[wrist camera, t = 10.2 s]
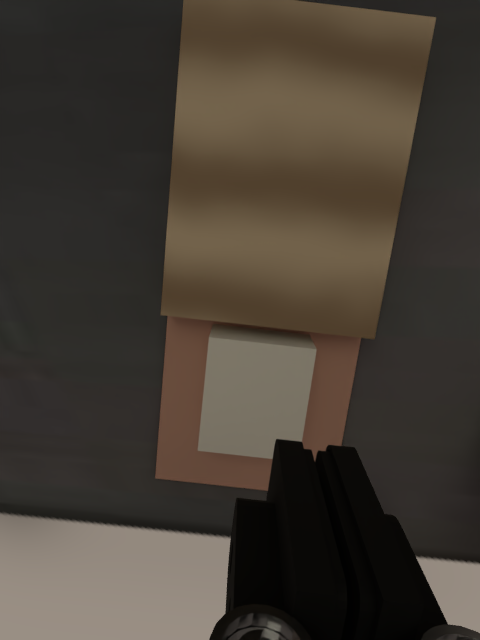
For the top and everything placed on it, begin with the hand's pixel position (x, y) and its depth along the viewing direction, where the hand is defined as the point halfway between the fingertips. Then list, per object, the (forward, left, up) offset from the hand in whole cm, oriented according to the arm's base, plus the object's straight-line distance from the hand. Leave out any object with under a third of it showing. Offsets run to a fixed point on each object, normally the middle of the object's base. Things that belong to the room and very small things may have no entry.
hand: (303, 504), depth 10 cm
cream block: (+5, 0, -19) cm, 19 cm away
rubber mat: (+7, 0, -19) cm, 20 cm away
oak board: (-8, 0, -19) cm, 21 cm away
